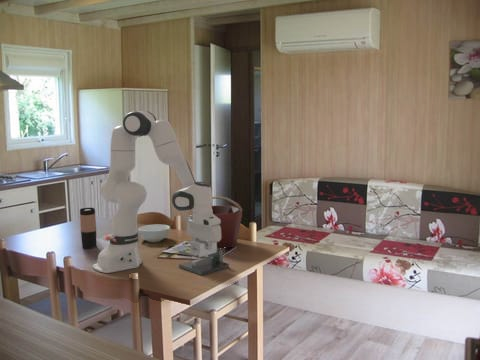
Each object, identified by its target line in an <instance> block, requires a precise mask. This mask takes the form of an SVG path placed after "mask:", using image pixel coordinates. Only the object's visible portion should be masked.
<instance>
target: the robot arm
mask: <svg viewBox="0 0 480 360" xmlns="http://www.w3.org/2000/svg"><path fill="white" fill-rule="evenodd" d="M111 132H112V133H111V138H110V157H109V158H110V160H109V161H110V164H109V166H110V167H109V171H108V174H107V177H106V179H105V181H104V182H103V183H102V184H101V186H100V189H99V190H100V192H99V193H100V195H101V197H102V198H103V199H104V200H106V202H107V201H108V202H109V203H113V204H117V205H118V207H117V212H116V213H115V214H114V215H112V218H111V220H112V221H111V223H112V234H111V236H109V235H105V238H104V239H105V240H106V241H109V243H108V244H107V245H106V246H105V247H104V248H103V249H102V250H100V252H99V253H98V256H97V263H94V264H92V269H93V270H95V271H97V272H100V273H105V274H110V273H111V274H112V273H115V272H121V271H125V270H131V269H136V268H139V267H140V265H141V264H142V263H143V260H142V257H141V254H140V249H139V233H138V213H139V209H140V207H141V205H143V203H145V201H146V200H147V195H148V194H147V193H148V191H147V189H146V188H145V186H144V185H142V184H140V183H138V182H136V181H130V180H129V178H130V174H131V172H132V171H134V169H135V168H136V141H137V138H140V137H145V136H146V137H148V138H150V140H151V143H152V146H153V148H154V152H155V154H156V157H157V158H158V160H159V162H160V163H163V164H164V165H167V166H170V167H171V168H173V169H174V170H175V172H176V174H177V176H178V179H179V181H180V183H181V186H182V188H181V189H179V190H176V191H175V192H174V193H173V194H172V196H171V203H172V206H173V207H174V208H175V209H176V211H180V212H183V211H185V212H186V211H189V210H190V211H191V210H192V215H189V216H188V217H187V222H186V230H185V231H186V234H187V236H190V237H193V240H197V239H204V240H207V241H208V243H209V245H208V246H207V250H212V245H213V243H215V242H219V241H220V240H221V227H220V225H219V224H220V223H221V220H220V219H219V218H218V217H216V216H215V215H214V214H213V210H212V206H213V199H212V197H213V191H212V187H211V184H209V183H208V182H206V181H205V182H204V181H196V180H195V178H194V175H193V173H192V170H191V168H190V166H189V163H188V161H187V159H186V157H185V155H184V154H183V151H182V148H181V145H180V143H179V140H178V137H177V135H176V132H175V130H174V128H173V126H172V125H171V123H170V121H168V120H166V119H158V120H157V118H156V116H155V115H154V114H153V113H152V112H150V111H146V110H135V111H131V112H129V113H127V114H126V115H125V116H124V118H123V120H122V125H118V126H116V127H114V128H113V129H112V131H111Z"/></svg>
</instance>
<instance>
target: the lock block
mask: <svg viewBox="0 0 480 360" xmlns="http://www.w3.org/2000/svg"><path fill="white" fill-rule="evenodd" d="M189 242H190V255H197V256H198V257H199V258H203V257H207V256H208V255H209V254H213V253H216V252H217V242H215V243H213V245H212V250H207V246H208V245H209V243H208V241H207V240H204V239H200V238H198V239H197V240H194V239H193V240H190V241H189Z"/></svg>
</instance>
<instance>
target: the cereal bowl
mask: <svg viewBox="0 0 480 360" xmlns="http://www.w3.org/2000/svg"><path fill="white" fill-rule="evenodd" d="M137 232H138V237H140V238H141V239H142V240H145V241H147V242H148V243H149V242H150V243H157V242H162V240H164V239H166V238H167V237H169V236H170V233H171V227H170V225H167V224H161V223H160V224H158V223H157V224H156V223H154V224H147V225H142V226H140V227H137Z"/></svg>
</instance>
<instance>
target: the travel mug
mask: <svg viewBox="0 0 480 360" xmlns="http://www.w3.org/2000/svg"><path fill="white" fill-rule="evenodd" d="M79 218H80V219H79V220H80V221H79V222H80V223H79V224H80V236H81V247H82V248H83V249H87V250H88V249H94V248H96V247H97V222H96V220H97V219H96V210H95V207H83V208H80V209H79Z"/></svg>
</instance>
